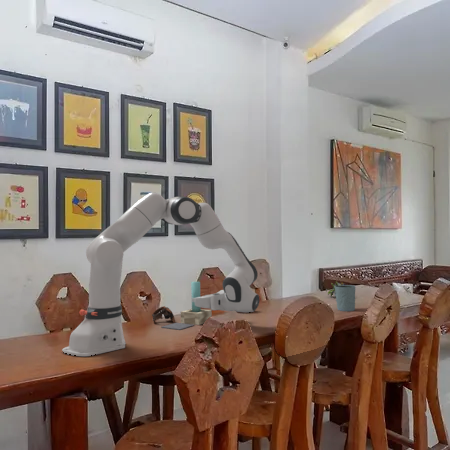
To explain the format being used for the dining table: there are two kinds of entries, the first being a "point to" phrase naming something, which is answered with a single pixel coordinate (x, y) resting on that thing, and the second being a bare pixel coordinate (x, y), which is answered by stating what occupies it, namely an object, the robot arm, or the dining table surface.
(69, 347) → the robot arm
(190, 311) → the socket block
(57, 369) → the dining table surface
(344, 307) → the blue-grey planter
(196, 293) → the peg
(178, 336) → the dining table surface
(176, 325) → the mat
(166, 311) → the brown hollow arch
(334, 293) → the passion flower
